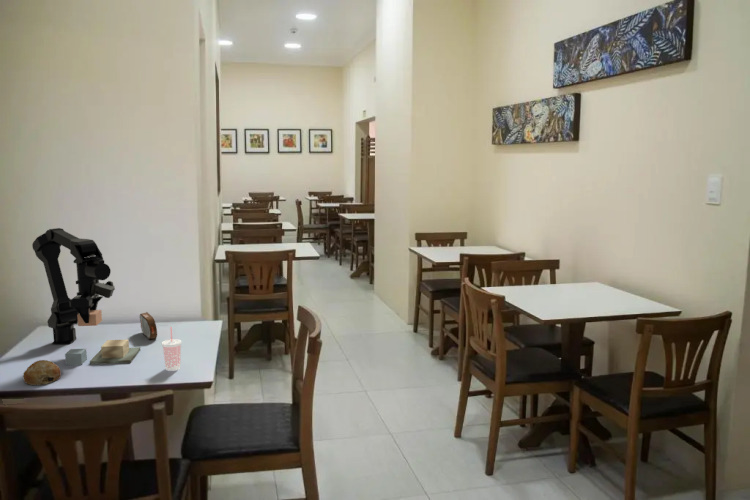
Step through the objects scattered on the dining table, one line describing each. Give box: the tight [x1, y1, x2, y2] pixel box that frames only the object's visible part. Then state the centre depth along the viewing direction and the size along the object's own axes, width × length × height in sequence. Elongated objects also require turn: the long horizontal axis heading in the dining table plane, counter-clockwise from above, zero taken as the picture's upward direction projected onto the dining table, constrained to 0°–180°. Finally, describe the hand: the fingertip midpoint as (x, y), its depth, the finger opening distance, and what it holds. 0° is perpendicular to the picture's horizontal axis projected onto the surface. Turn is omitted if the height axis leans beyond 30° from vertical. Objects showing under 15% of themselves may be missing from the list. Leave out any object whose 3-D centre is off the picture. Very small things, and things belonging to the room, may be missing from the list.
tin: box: [139, 311, 158, 340], centre depth 234 cm, size 15×3×8 cm, turn 34°
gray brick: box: [64, 348, 88, 366], centre depth 206 cm, size 5×5×4 cm
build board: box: [89, 339, 141, 365], centre depth 211 cm, size 13×13×5 cm
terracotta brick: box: [77, 309, 103, 327], centre depth 215 cm, size 6×6×4 cm
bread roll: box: [22, 359, 62, 386], centre depth 190 cm, size 10×10×8 cm
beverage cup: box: [161, 326, 182, 372], centre depth 200 cm, size 6×6×14 cm
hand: (90, 320), depth 215 cm, fingers closed on terracotta brick, 6 cm apart
